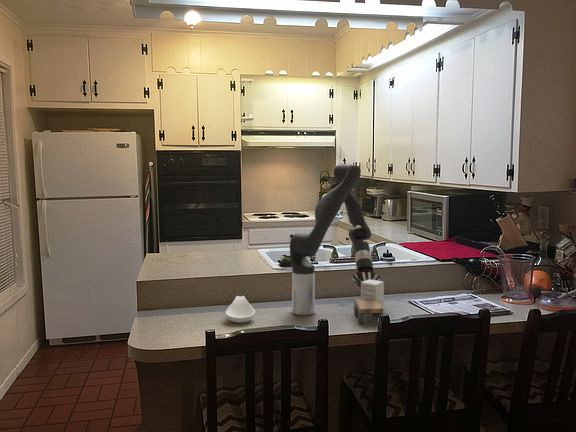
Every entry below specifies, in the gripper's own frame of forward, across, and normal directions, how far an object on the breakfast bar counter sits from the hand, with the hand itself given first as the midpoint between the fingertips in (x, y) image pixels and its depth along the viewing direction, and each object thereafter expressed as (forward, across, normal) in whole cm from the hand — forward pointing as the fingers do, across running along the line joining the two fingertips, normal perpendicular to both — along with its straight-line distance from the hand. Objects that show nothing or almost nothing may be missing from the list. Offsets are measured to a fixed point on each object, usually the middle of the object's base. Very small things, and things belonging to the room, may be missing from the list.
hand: (368, 295), depth 216 cm
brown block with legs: (+18, -4, -11) cm, 21 cm away
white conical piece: (+13, -55, -5) cm, 57 cm away
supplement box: (+9, 0, -2) cm, 9 cm away
